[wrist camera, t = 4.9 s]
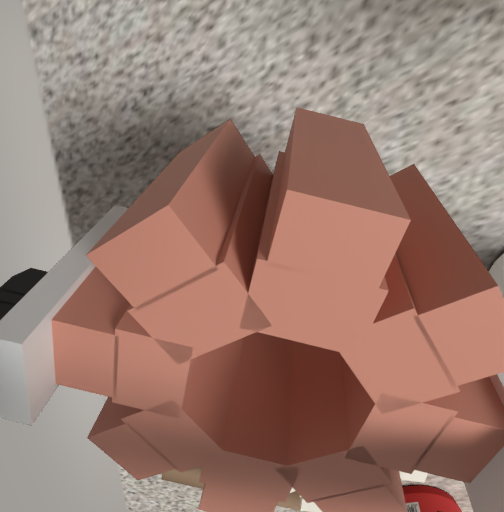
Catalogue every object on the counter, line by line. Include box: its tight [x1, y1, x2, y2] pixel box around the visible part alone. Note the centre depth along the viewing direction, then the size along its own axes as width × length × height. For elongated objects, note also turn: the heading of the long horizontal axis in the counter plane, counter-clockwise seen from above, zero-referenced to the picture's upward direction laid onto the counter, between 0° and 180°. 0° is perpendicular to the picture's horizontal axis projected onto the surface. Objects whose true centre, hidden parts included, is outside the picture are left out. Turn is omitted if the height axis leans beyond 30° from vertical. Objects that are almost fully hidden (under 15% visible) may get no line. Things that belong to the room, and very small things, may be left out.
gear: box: [51, 108, 504, 512], centre depth 13 cm, size 11×11×7 cm
